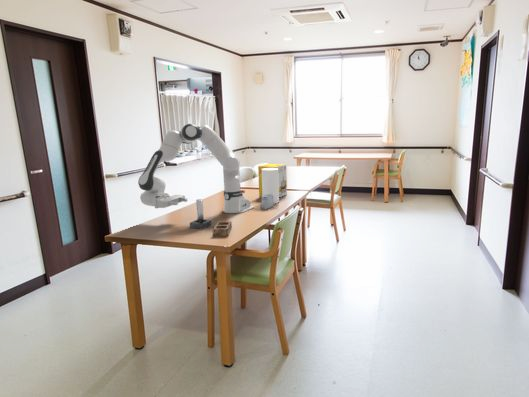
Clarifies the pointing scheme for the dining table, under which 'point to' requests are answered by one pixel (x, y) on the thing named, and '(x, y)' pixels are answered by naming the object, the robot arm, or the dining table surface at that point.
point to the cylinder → (270, 183)
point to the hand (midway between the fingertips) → (182, 201)
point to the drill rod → (200, 211)
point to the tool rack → (222, 229)
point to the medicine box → (267, 201)
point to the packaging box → (281, 178)
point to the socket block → (200, 224)
